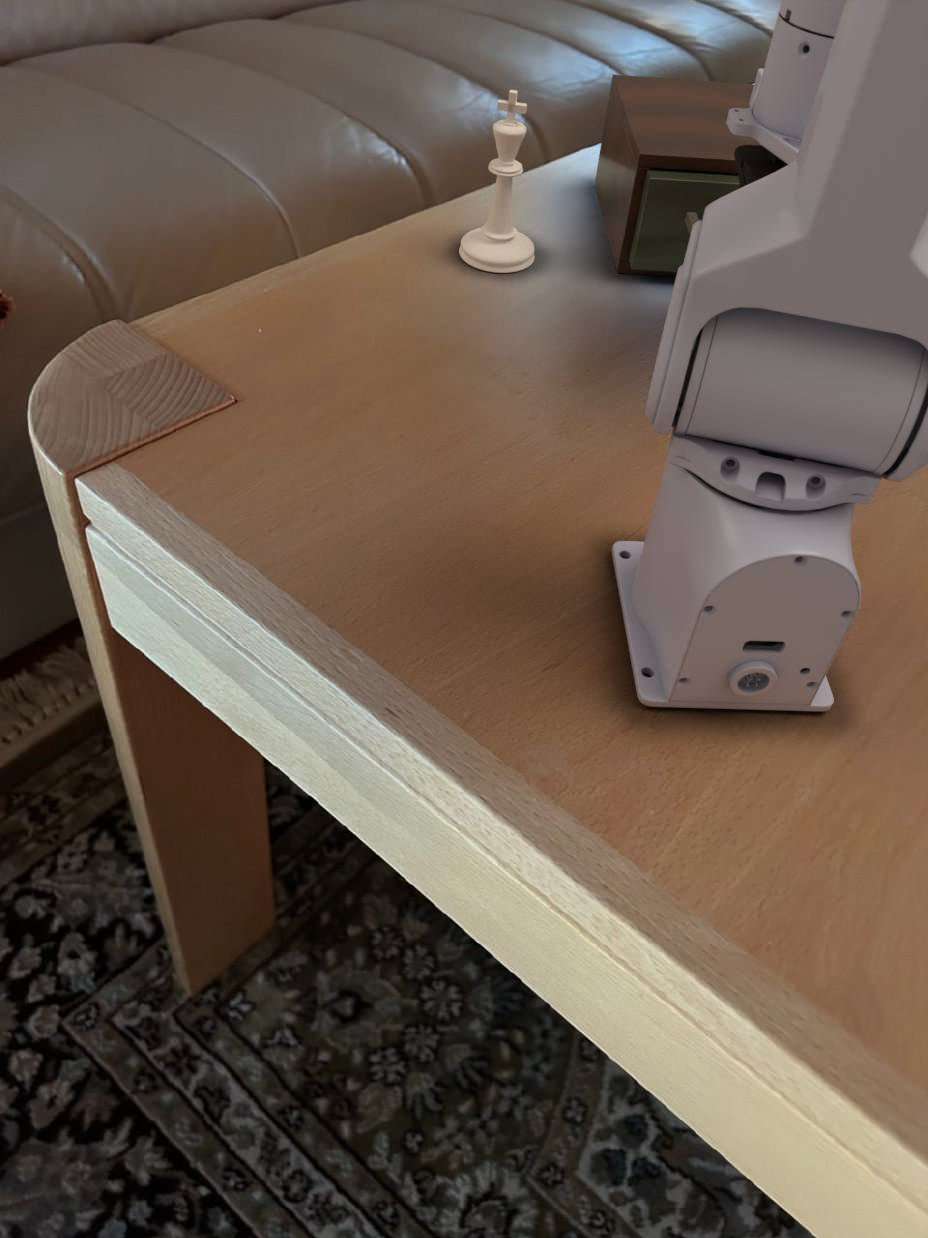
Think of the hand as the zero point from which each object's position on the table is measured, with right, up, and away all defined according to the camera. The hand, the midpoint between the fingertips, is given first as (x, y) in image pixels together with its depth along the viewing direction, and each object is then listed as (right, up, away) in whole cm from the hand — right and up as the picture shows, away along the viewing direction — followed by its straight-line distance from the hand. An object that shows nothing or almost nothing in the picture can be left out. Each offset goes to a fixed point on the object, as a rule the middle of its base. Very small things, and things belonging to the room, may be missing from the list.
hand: (758, 290), depth 57 cm
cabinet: (-1, +8, +13) cm, 16 cm away
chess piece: (-14, +5, +9) cm, 18 cm away
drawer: (0, +6, +10) cm, 11 cm away
